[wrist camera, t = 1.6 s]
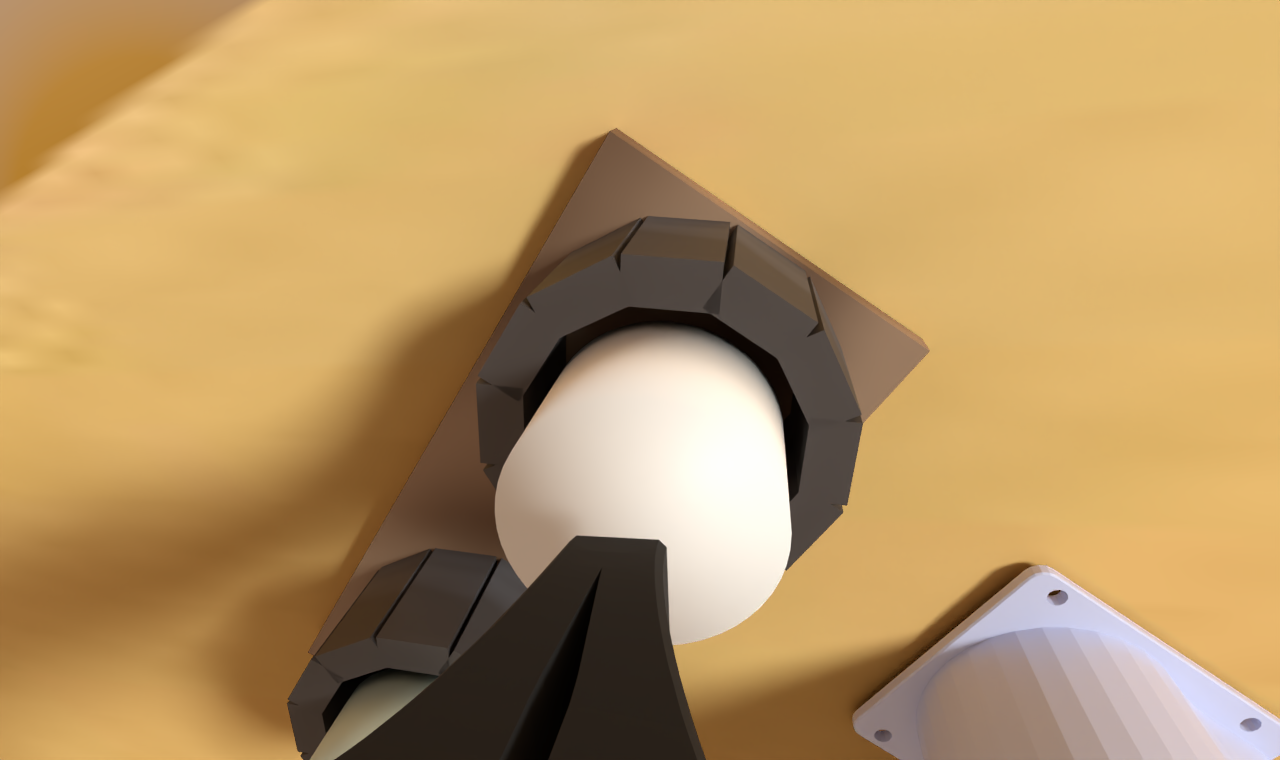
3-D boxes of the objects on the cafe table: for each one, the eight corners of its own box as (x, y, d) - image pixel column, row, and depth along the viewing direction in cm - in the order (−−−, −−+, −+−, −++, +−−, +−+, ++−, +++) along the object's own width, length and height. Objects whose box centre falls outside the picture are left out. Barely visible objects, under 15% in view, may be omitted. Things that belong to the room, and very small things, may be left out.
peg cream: (834, 410, 14) (857, 509, 11) (694, 567, 16) (679, 688, 13) (626, 272, 14) (587, 334, 11) (508, 452, 16) (447, 548, 13)
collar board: (922, 339, 17) (973, 421, 13) (539, 759, 26) (498, 890, 22) (616, 128, 16) (571, 147, 12) (320, 635, 25) (235, 746, 21)
